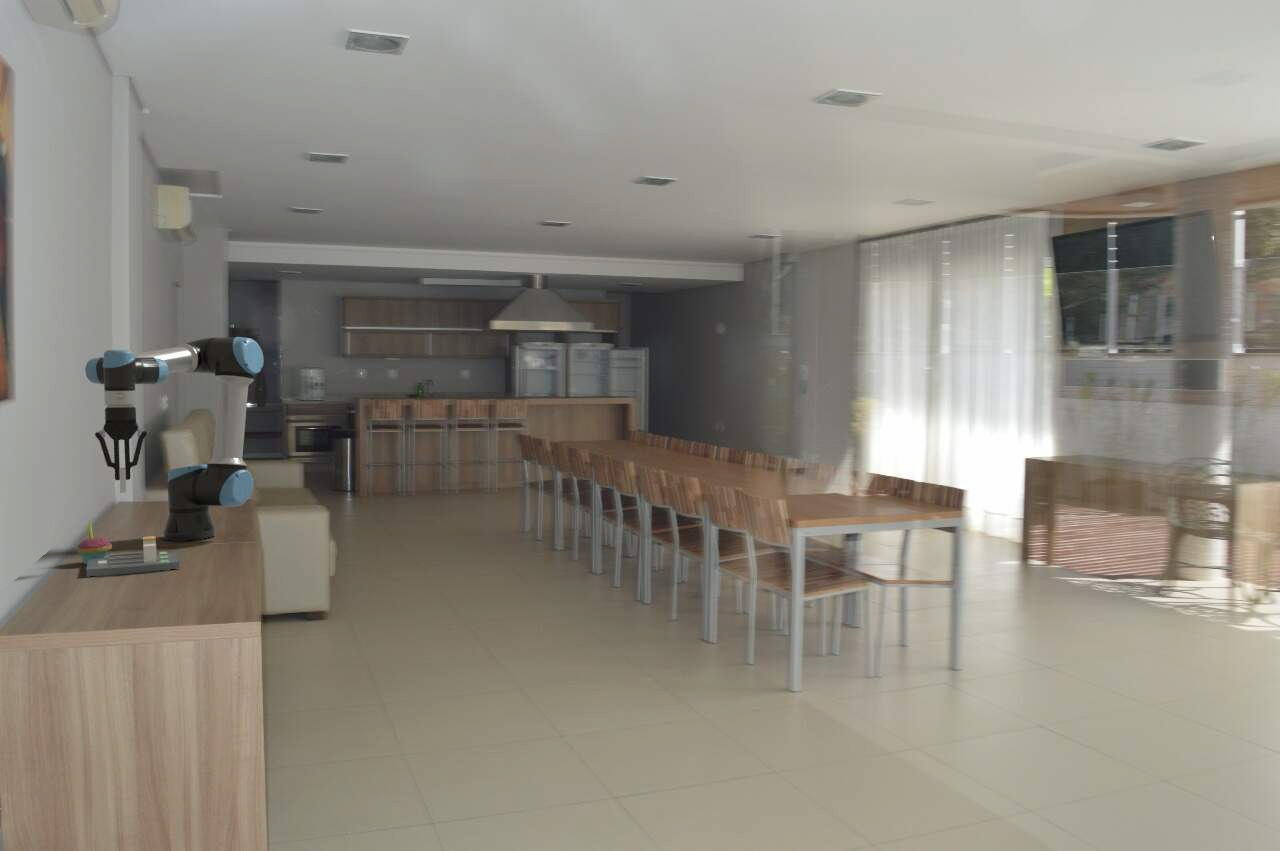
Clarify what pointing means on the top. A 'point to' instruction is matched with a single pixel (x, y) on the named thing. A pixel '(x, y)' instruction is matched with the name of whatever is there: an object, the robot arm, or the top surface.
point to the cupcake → (93, 547)
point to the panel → (133, 562)
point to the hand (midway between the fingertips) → (123, 491)
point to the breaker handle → (149, 540)
